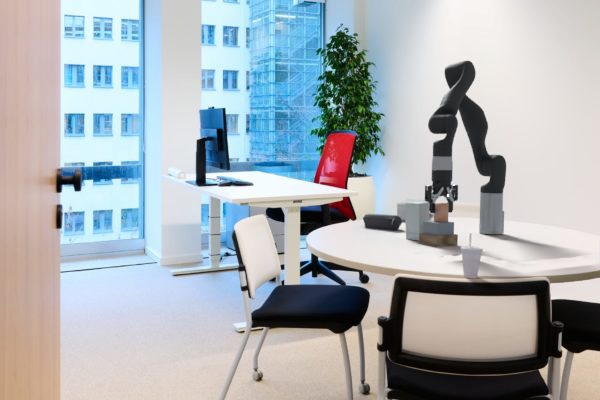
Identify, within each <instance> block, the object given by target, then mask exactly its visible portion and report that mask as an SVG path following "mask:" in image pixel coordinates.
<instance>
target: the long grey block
mask: <svg viewBox="0 0 600 400" xmlns="http://www.w3.org/2000/svg"><path fill="white" fill-rule="evenodd" d="M411 202H425V203H429V202H427V201H425V199H406V200H403V201H400V202H398V203H396V205H397V206H396V208H397V209H396V215H397V216H399V217H400V218H401V219H402V220H405V221H404V222H406V214H405V203H411Z"/></svg>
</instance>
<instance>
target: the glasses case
mask: <svg viewBox="0 0 600 400" xmlns="http://www.w3.org/2000/svg"><path fill="white" fill-rule="evenodd" d="M362 220H363V223H364V227H365V229H367V228H368V229H376V228H378V230H387V229H388V230H389V231H390V230H391V231H398V230H399V229H400V226H401V225H402V223H403V221H402V219H401V218H400V217H399V216H397V214H396V215H395V214H386V213H385V214H381V213H366V214H365V215H364V216H363V217H362ZM388 230H387V231H388Z"/></svg>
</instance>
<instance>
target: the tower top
mask: <svg viewBox="0 0 600 400" xmlns="http://www.w3.org/2000/svg"><path fill="white" fill-rule="evenodd" d="M423 233H425V234H431V235H437V236H438V235H452V234H455V222H454V221H448V222H447V223H439V222H434V220H430V221H423Z"/></svg>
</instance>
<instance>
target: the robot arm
mask: <svg viewBox="0 0 600 400" xmlns="http://www.w3.org/2000/svg"><path fill="white" fill-rule="evenodd" d="M476 74H477V73H476V68H475V65H474V63H473V62H472V61H471V60H462V61H459V62H455V63H451V64H448V65H447V66H445V68H444V77H445V81H446V84H447V86H448V88H449V90H448V91H446V93H445V94H444V95H443V97H442V99H441V101H440V104H439V107H438V108H436V110H435V111H434V112H433V113H432V114H431V116H430V118H429V119H428V124H427V125H428V127H427V128H428V130H429V132H430V133H431V134H433V135H445V137H444V138H443V139H439V140H436V141H434V142H433V144H432V159H431V160H432V161H431V181H432V184H431V185H430V184H426V185H424V200H425V201H427V202H429V214H434V213H435V206H436V203H437V202H436V201H437V200H438V199H439V198H440V197H443V198H445V199H446V201H447V202H446V203H449V207H448V214H449V213H453V211H454V203H455V202H457V201H458V199H459V185H458V184H452V182H453V145H454V144H453V143H454V140H455V136H456V132H457V130H458V126H459V120H458V118H457V114H458V111H459V115H460V118H461V122H462V123H463V127H464V130H465V132H466V135H467V138H468V140H469V143H470V148H471V151H472V155H473V158H474V159H473V160H474V162H475V166H476V170H477V171H478V174H479V175H480V176H483V177H489V181H488V182H487V183H485V184H482V185H481V186H480V189H479V191H480V194H479V195H480V196H479V224H478V225H479V230H478V231H479V233H480V234H484V235H502V234H504V232H505V231H504V230H505V225H504V224H505V211H504V209H503V207H504V206H503V205H504V203H503V202H504V189H505V185H506V175H507V161H506V158H505V157H504V155H501V154H489V153H488V150H487V147H486V138H487V135H488V130H489V124H488V120H487V117H486V114H485V111H484V109H482V107H481V106H480V105H478V103H476V102H475V101H474V100H472V99H471V98H470V97H469V96H468V95H467V92H468V91H469V90H470V88H471V86H472V84H473V83H474V81H475V79H476V76H477V75H476Z"/></svg>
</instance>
